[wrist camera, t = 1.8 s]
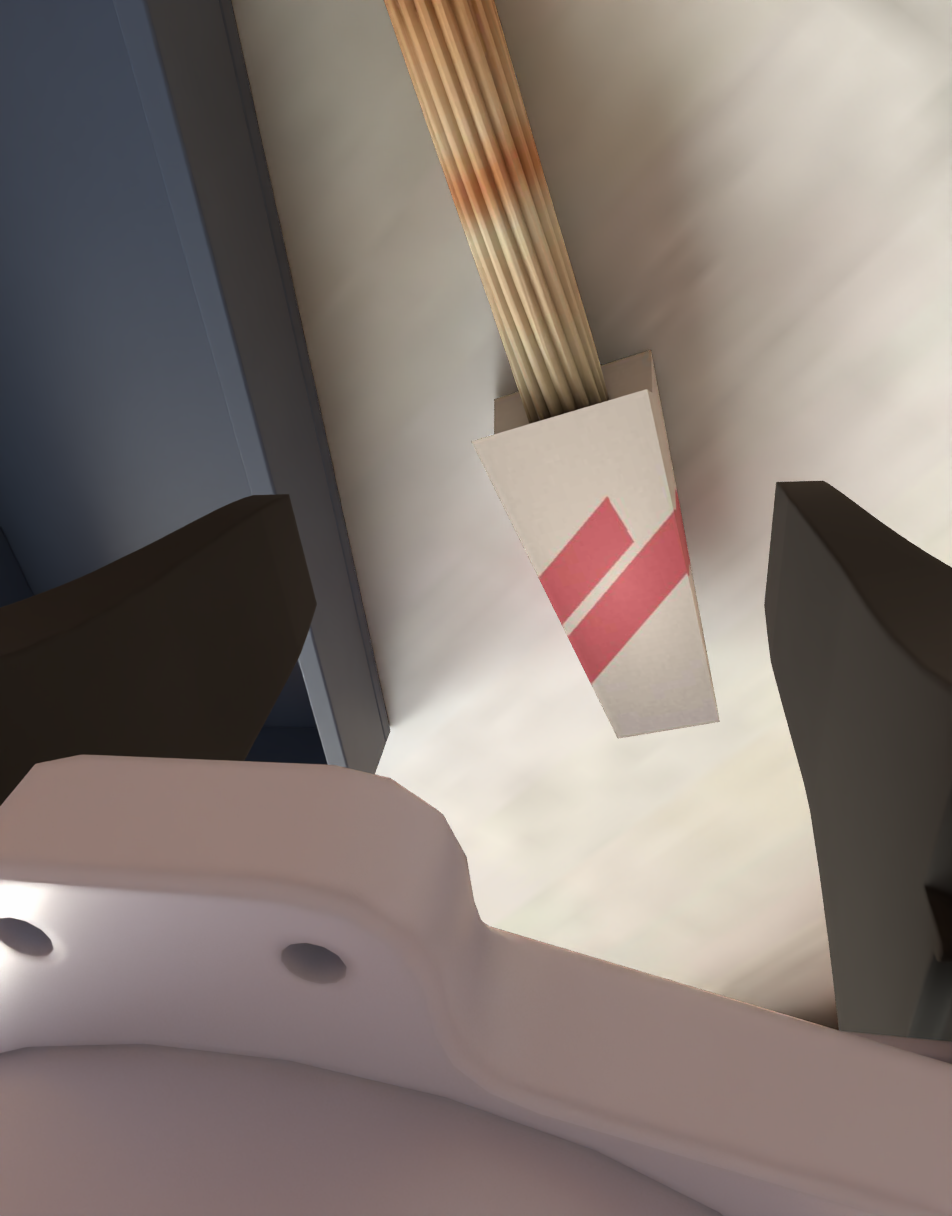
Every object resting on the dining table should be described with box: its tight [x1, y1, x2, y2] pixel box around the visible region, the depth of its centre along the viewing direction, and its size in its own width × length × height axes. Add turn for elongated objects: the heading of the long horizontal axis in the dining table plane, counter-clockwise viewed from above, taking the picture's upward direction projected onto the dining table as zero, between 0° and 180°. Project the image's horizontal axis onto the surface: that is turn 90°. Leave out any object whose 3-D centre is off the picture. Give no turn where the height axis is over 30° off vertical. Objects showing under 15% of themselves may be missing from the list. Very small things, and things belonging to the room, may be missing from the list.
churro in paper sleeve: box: [384, 0, 720, 738], centre depth 18 cm, size 4×3×20 cm
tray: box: [0, 0, 390, 774], centre depth 20 cm, size 11×23×4 cm, turn 6°
